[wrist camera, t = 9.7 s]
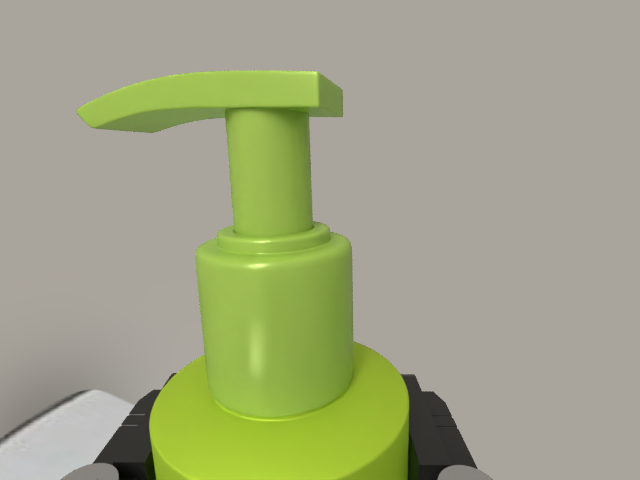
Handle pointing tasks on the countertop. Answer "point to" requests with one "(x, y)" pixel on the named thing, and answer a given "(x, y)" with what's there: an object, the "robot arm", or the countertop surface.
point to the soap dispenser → (268, 300)
